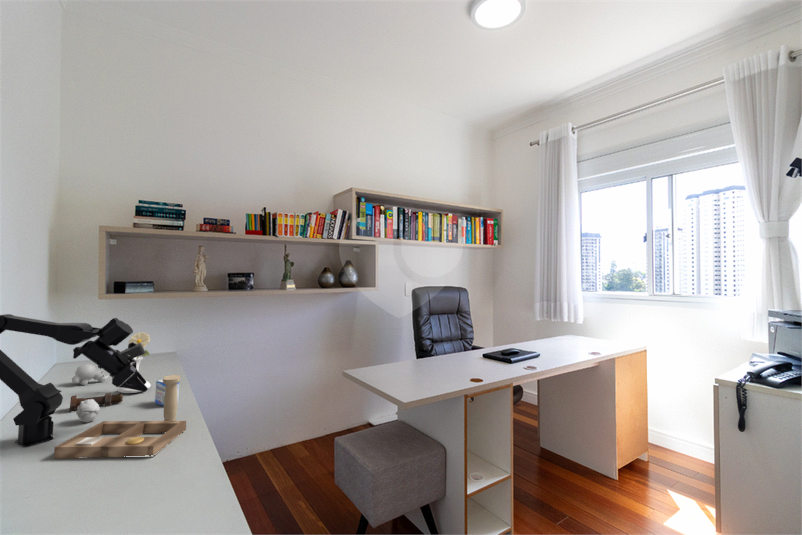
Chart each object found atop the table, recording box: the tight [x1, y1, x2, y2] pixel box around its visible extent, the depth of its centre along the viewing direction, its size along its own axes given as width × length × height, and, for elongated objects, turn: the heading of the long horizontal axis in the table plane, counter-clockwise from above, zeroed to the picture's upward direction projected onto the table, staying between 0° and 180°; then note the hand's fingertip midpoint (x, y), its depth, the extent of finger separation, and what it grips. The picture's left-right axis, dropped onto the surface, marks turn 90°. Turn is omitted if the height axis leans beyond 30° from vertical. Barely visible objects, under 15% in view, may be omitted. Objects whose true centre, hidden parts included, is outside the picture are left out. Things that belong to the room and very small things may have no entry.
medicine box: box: [154, 379, 180, 407], centre depth 143 cm, size 8×4×9 cm, turn 62°
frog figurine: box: [75, 399, 101, 423], centre depth 124 cm, size 6×7×7 cm
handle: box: [162, 374, 181, 421], centre depth 125 cm, size 5×6×15 cm
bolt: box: [69, 392, 124, 413], centre depth 138 cm, size 6×5×15 cm
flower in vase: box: [117, 331, 151, 394], centre depth 157 cm, size 13×11×25 cm
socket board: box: [53, 420, 187, 460], centre depth 109 cm, size 25×18×3 cm
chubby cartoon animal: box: [71, 363, 109, 386], centre depth 167 cm, size 7×12×8 cm, turn 130°
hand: (146, 386), depth 121 cm, fingers open, 9 cm apart
